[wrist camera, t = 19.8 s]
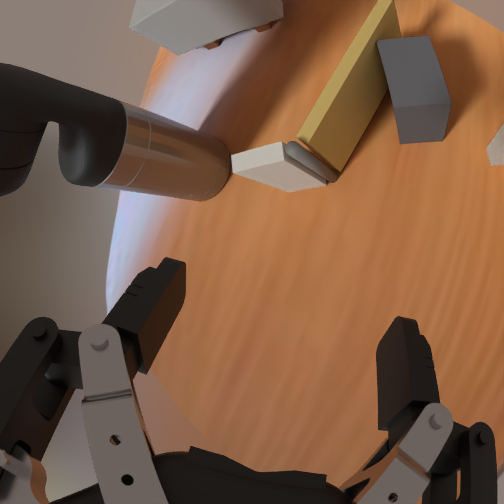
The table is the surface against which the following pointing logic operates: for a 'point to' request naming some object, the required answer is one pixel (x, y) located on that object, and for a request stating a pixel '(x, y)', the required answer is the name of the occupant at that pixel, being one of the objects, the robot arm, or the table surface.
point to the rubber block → (416, 88)
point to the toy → (200, 20)
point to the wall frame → (309, 164)
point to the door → (352, 91)
